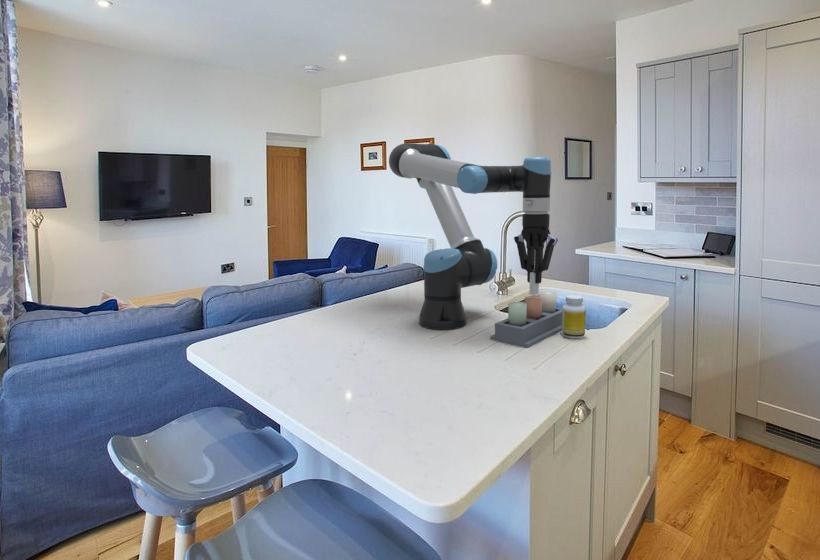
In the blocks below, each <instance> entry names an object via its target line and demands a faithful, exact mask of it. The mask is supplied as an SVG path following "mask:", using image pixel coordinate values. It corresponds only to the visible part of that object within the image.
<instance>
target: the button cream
mask: <svg viewBox="0 0 820 560" xmlns="http://www.w3.org/2000/svg"><path fill="white" fill-rule="evenodd" d="M538 297H541V298H542V312H545V313H551V314H552V313H554V312H556V308H557V292H556V291H552V290H543V291H540V292H539V296H538Z"/></svg>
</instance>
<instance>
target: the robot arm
mask: <svg viewBox="0 0 820 560" xmlns="http://www.w3.org/2000/svg"><path fill="white" fill-rule="evenodd" d="M451 158H452V157H451V156H450V153H449V151H448V150H447V148H445V147H444V146H442V145H440V144H435V143H427V144H425V143H410V142H405V143H400V144H398V145H396V147H394V148H392V151H391V152H390V154H389V158H388V164H389V165H388V166H389V168H390V170H391V172H392V173H393V174H395V176H396V177H399V178H406V179H409V180H411V179H415V180H416V181H417V183H418V186H419V187H420V188H421V189H423V190H425V191H426V194H427V196H428V198H429V200H430V202H431V206H432V207H433V210H434V212H435V215H436V217H437V219H438V221H439V223H440V226H441V228H442V230H443V233H444V235H445V237H446V239H447V242H448V244H449V247H450V248H449V247H448V248H443V249H442V248H440V249H435V250H432V251H429V252H427V253H426V254H425V256H424V258H423V260H424V261H423V267H422V268H423V287H424V288H423V290H424V292H423V293H424V294H423V295H424V299H423V300H424V301H423V304H422V306H421V309H420V314H419V318H418V319H419V321H418V323H419V325H420V326H421V327H424V328H427V329H432V330H455V329H459V328H463V327H465V326H466V325H467V315H466V313H465V309H464V305H463V302H462V288H463V289H465V288H469V287H473V286H481V285H483V284H487V283H489V282H490V281H492V280H493V279H494V278H495V276H496V273H497V270H498V259H497V256H496V254H495V252H494V251H493V250H491V249H490V248H488V247H484V245H483V242H482V241H481V239H480V238H476V237H475V236H474V233H473V231H472V230H471V227H470V225H469V222H468V220H467V218H466V216H465V214H464V211H463V209H462V207H461V204H460V202H459V200H458V198H457V196H456V193H455V191H454V189H453V188H458V189H460V190H461V192H462V193H465V194H472V195H475V194H476V195H477V194H488V193H511V192H512V193H513V192H514V193H518V192H519V193H521V192H522V212H524V213H523V214H522V220H521V221H522V223H521V225H522V229H521V232H520V234H518V235H517V236H514V237H513V240H514V242H515V244H516V247H517V254H518V257H519V262H520V268H521V270H525V271H526V272H527V277H526V278H527V279H526V280H527V283H529V296H536V295H538V294H540V292H539V290H540V289H539V288H540V287H539V286H540V284H541V283H542V280H543V279H542V274H543V272H545V271H548V270H549V267H550V263H551V261H552V260H551V259H552V257H553V252H554V248H555V245H556V244H557V243H558V241H559V240H558V238H557V237H554V236H553V235H552V234H551V231H550V228H549V227H550V218H551V217H550V214H549V212H550V211H551V182H552V181H551V180H552V163H551V162H552V161H551V158H549V157H546V156H533V157H532V156H531V157H525V158H524V159H523V164H522V165H478V164H473V163H469V162H463V161H460V160H459V161H458V160H453V159H451ZM545 243H547V244H546V246H545ZM544 248H545V250H544Z"/></svg>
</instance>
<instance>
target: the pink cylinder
mask: <svg viewBox="0 0 820 560" xmlns="http://www.w3.org/2000/svg"><path fill="white" fill-rule="evenodd" d="M524 303H526V304H527V314H526V318H529V319H535V320H538V319H541V318H542V298H541V297H539V296H536V295H529V296H524Z"/></svg>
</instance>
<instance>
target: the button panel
mask: <svg viewBox="0 0 820 560" xmlns="http://www.w3.org/2000/svg"><path fill="white" fill-rule="evenodd" d="M561 331H562V307H561V308H560V307H556V312H554V313H552V314H551V313H545V312H542V318H541V319H538V320H535V319H529V318H526V325H524V326H522V327H519V326H514V325H509V324H508V317H507V318H505V319H503V320H500V321H498V322H495V323H494V334H492V335H490V336H489V340H492V341H495V342H501V343H503V344H504V343H505V344H510V345H513V346H519V347H523V348H526V349H527V348H530V347H533V346H535V345H536V344H539V343H541V342H542V341H544V340H546V339H548V338H550V337H552V336H554V335H556V334H558V333H561Z"/></svg>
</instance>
